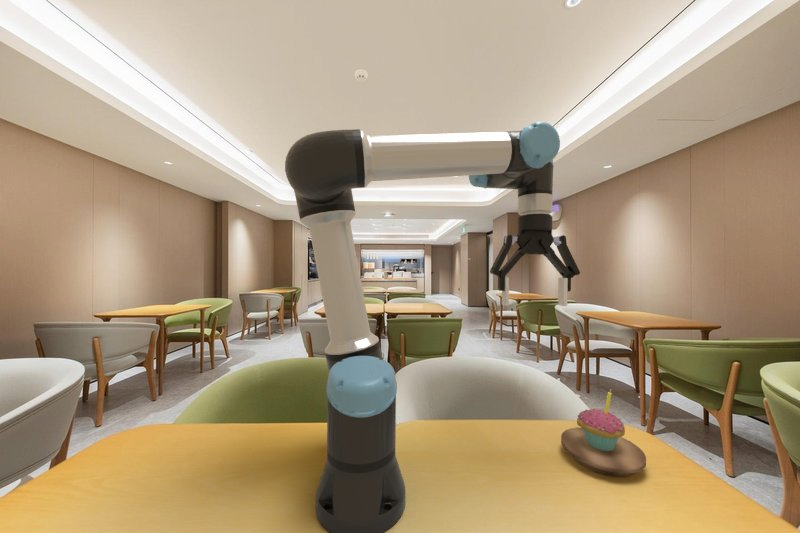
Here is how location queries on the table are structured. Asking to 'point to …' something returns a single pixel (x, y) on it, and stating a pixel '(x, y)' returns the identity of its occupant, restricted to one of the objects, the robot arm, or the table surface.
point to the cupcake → (601, 427)
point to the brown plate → (604, 455)
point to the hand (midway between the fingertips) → (533, 305)
